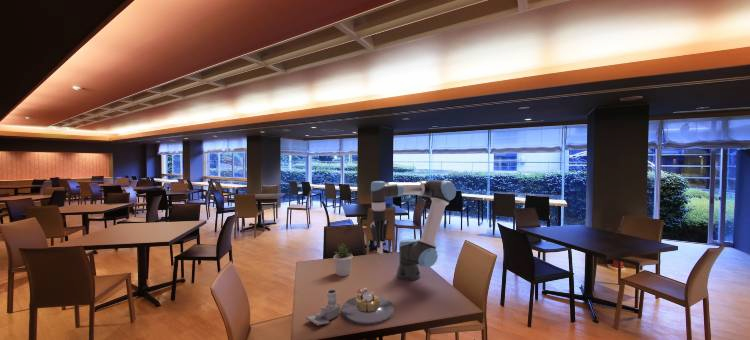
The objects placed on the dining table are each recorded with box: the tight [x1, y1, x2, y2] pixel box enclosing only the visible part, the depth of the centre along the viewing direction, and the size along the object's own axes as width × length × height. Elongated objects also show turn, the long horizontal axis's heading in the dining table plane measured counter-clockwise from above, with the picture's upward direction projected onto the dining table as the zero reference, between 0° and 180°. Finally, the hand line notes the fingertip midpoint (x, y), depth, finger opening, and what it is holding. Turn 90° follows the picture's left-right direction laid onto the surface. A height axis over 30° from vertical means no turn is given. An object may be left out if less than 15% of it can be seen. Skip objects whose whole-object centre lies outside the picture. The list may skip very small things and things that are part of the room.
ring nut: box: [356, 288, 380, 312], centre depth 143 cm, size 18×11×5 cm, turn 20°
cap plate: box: [341, 287, 395, 326], centre depth 140 cm, size 25×25×8 cm
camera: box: [305, 288, 341, 326], centre depth 132 cm, size 9×12×15 cm
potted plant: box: [332, 244, 354, 277], centre depth 189 cm, size 13×14×20 cm
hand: (380, 252), depth 156 cm, fingers closed
